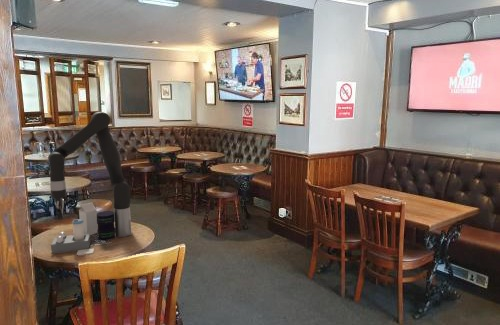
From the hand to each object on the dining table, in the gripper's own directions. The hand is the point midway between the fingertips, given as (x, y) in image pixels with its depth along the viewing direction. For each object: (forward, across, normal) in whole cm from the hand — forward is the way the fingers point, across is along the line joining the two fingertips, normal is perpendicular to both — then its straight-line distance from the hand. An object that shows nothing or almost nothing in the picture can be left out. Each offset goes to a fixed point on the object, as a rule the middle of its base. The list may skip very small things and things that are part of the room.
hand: (60, 218), depth 200 cm
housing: (+16, -4, -5) cm, 17 cm away
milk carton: (+16, +18, -12) cm, 27 cm away
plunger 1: (+13, 0, 0) cm, 13 cm away
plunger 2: (+13, -7, 0) cm, 15 cm away
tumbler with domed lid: (+16, -4, -9) cm, 19 cm away
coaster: (+16, -14, -13) cm, 25 cm away
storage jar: (+16, +6, -23) cm, 28 cm away
